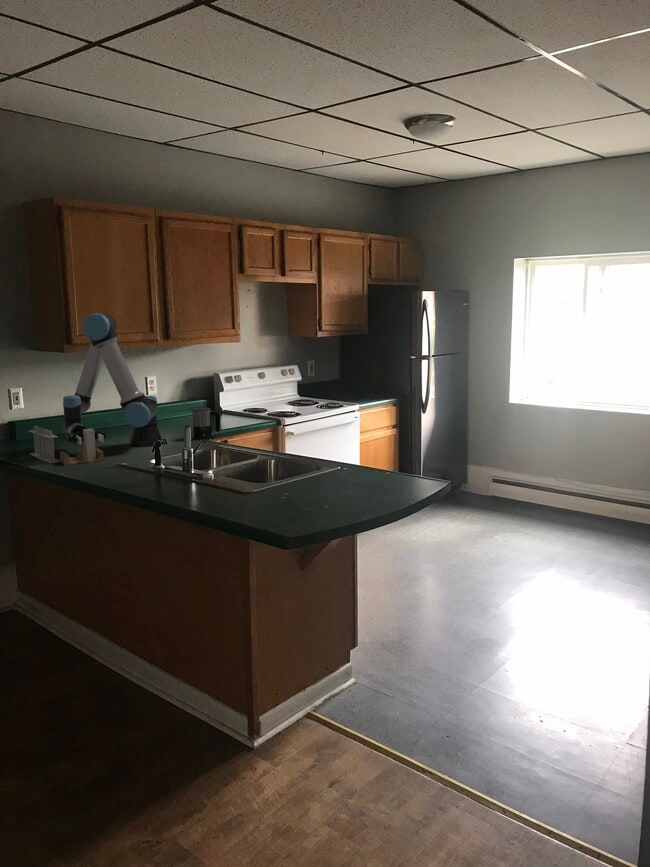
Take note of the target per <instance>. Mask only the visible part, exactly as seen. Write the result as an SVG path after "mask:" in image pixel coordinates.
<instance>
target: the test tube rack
mask: <svg viewBox="0 0 650 867" xmlns="http://www.w3.org/2000/svg"><path fill="white" fill-rule="evenodd" d="M27 432H29V433H32V435H33V443H34V445H33V446H34V452H30V453H29V455H30V456H31V455H32V456H31V457H33V456H34V458H36V459H38V460H41V461H42V462H45V463H48V464H56V463H61V462H60V459H57V458H55V456H56V455H55V446H54V445H55V444H54V443H55V441H54V439H56V438H59V436H58V435H55V434H53V431H52V430H49V429H47V428H46V429H45V428H44V427H41V426H38V425H34V426H33V429H32V430H31V429H30V430H28V431H27Z"/></svg>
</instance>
